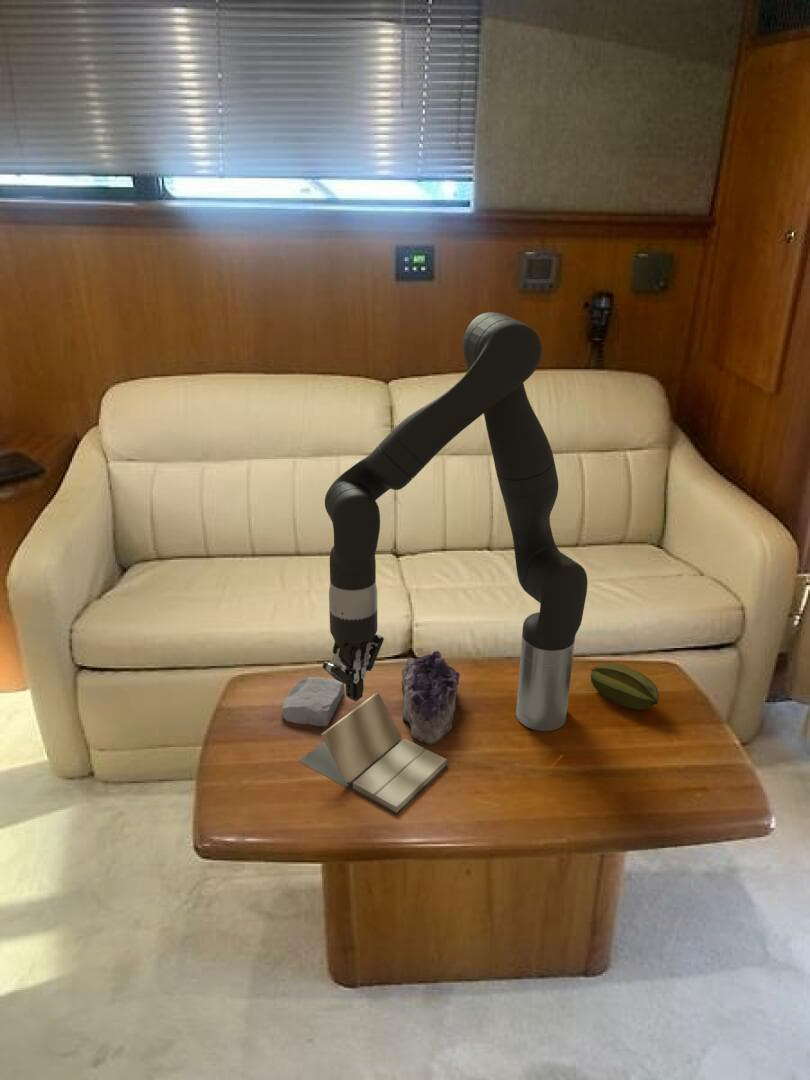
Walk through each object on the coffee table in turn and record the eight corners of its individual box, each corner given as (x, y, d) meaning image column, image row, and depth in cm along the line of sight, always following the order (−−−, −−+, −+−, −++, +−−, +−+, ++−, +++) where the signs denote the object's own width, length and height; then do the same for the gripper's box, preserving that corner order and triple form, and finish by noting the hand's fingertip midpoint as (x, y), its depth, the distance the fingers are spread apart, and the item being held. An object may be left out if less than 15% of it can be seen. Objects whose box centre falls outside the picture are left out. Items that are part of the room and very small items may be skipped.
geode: (468, 747, 139) (463, 702, 134) (403, 754, 139) (396, 710, 135) (460, 677, 157) (455, 636, 152) (403, 683, 157) (396, 642, 153)
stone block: (280, 731, 145) (331, 729, 143) (274, 709, 144) (325, 707, 141) (301, 696, 156) (349, 693, 153) (296, 675, 154) (344, 672, 152)
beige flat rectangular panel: (374, 693, 139) (378, 692, 138) (398, 740, 139) (402, 739, 138) (320, 734, 129) (325, 733, 128) (346, 784, 129) (351, 783, 128)
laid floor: (355, 718, 146) (355, 711, 145) (449, 765, 134) (449, 757, 133) (298, 762, 135) (298, 754, 134) (396, 817, 123) (396, 809, 122)
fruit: (645, 683, 156) (649, 655, 153) (657, 721, 145) (662, 692, 143) (587, 681, 157) (590, 653, 154) (595, 718, 146) (599, 688, 143)
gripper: (343, 630, 116) (345, 726, 123) (398, 596, 125) (397, 687, 133) (306, 615, 120) (310, 708, 127) (361, 583, 129) (362, 671, 137)
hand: (354, 697), depth 130 cm, fingers closed
